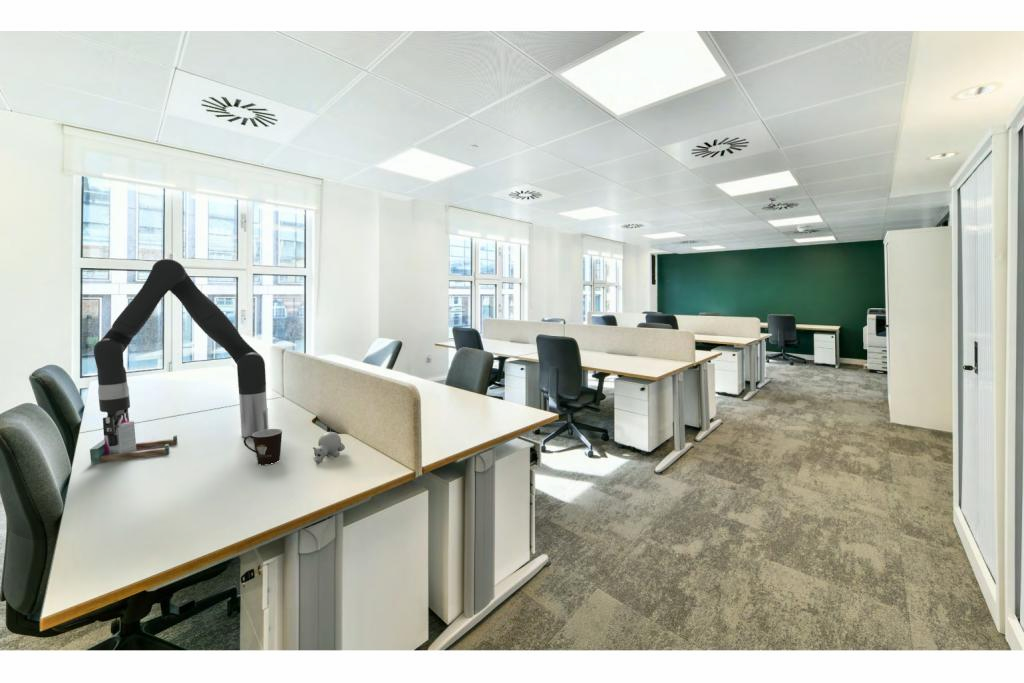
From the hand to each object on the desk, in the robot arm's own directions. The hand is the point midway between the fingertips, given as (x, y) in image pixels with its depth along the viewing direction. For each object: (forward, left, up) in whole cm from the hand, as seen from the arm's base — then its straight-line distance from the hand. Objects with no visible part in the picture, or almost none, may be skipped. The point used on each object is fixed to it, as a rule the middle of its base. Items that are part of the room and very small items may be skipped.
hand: (118, 441), depth 142 cm
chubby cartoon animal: (-64, +35, -5) cm, 73 cm away
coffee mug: (-46, +28, -5) cm, 54 cm away
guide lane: (-5, 0, -5) cm, 7 cm away
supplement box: (0, 0, -5) cm, 5 cm away
